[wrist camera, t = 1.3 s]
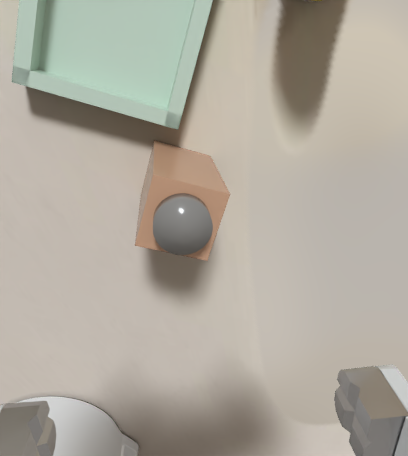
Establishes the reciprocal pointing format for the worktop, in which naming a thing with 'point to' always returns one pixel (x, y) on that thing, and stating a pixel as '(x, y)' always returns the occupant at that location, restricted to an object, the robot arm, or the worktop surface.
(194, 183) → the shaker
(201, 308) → the worktop surface
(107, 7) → the tray
